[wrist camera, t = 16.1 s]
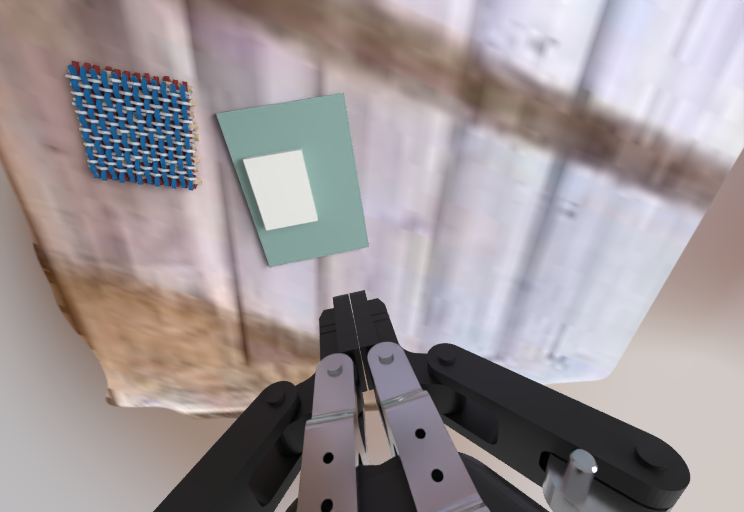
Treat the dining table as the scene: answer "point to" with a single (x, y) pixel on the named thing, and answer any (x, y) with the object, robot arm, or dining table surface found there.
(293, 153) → the rectangular block
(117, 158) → the woven mat
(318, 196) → the mat
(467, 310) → the dining table surface
